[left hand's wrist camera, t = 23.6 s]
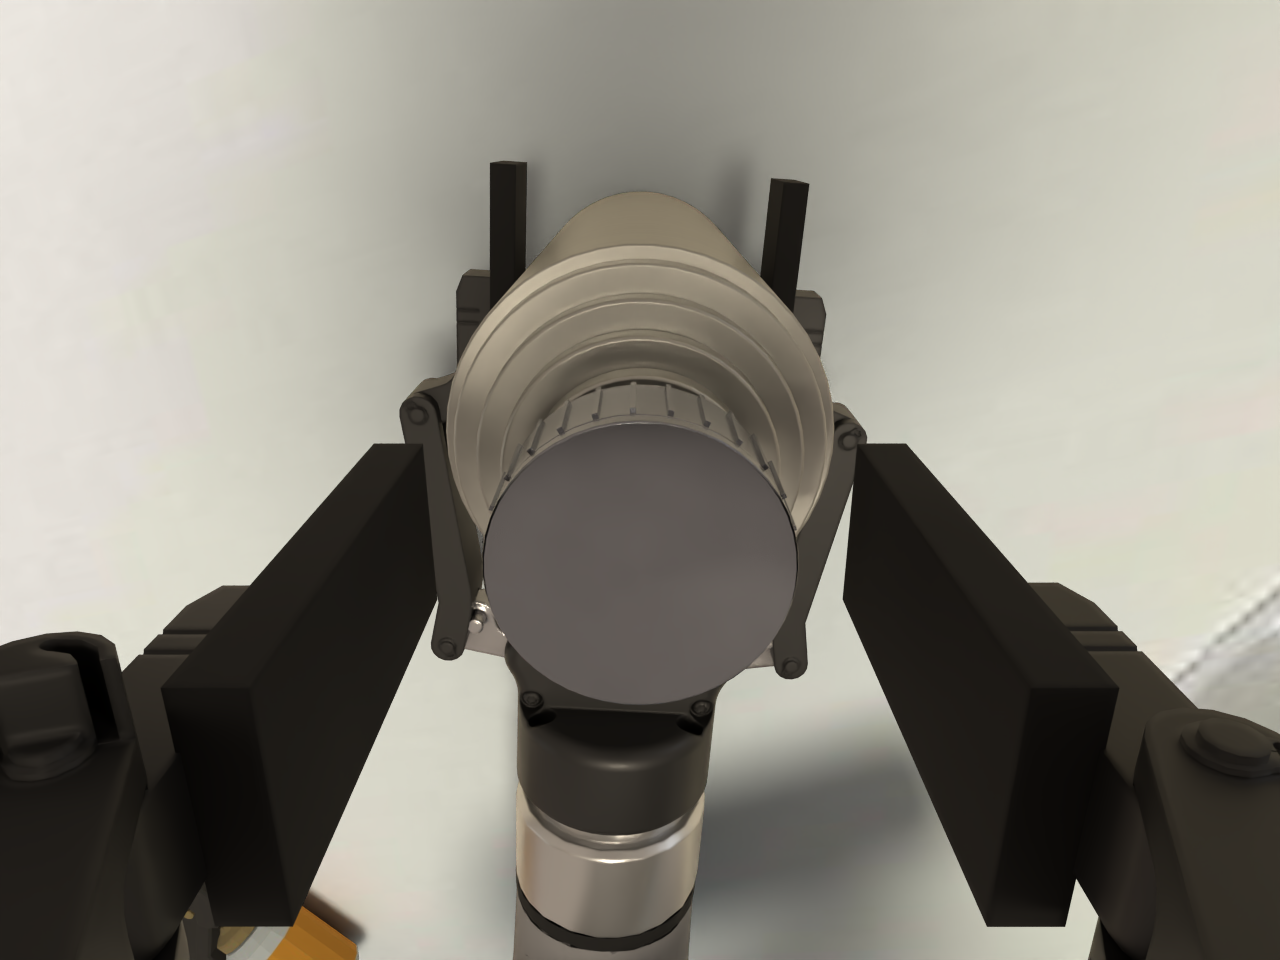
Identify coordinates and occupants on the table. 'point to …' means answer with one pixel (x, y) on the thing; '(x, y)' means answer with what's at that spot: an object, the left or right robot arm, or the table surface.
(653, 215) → the bottle
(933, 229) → the table surface
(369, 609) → the left robot arm
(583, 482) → the cap
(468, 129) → the table surface
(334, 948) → the spray gun
